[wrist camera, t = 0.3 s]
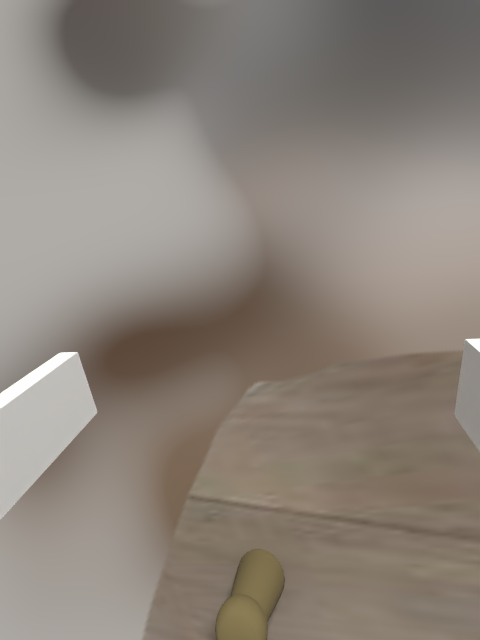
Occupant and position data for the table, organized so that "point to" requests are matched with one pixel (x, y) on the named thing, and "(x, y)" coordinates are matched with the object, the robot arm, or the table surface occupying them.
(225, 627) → the olive ball-ended rod
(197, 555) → the table surface
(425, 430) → the table surface
